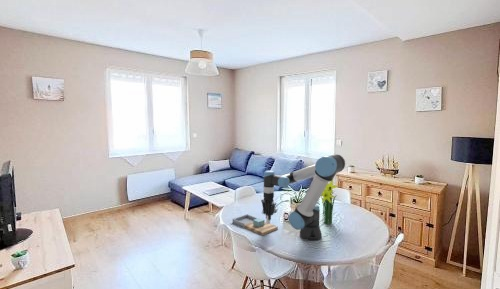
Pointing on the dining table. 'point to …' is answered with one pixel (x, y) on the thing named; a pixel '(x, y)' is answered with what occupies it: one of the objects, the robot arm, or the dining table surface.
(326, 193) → the daffodil flowers
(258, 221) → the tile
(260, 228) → the slatted wooden board
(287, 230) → the dining table surface
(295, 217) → the robot arm
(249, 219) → the tray
